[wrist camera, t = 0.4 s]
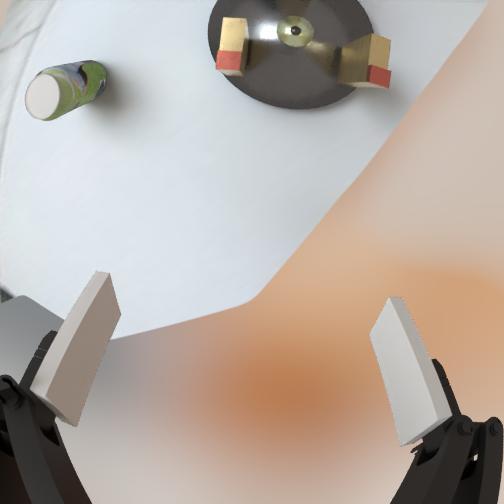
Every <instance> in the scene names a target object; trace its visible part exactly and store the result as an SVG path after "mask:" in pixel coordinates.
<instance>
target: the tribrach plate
mask: <svg viewBox="0 0 504 504" xmlns="http://www.w3.org/2000/svg"><path fill="white" fill-rule="evenodd" d="M223 17H225V18H246V19H247V26H248V33H249V45H248V53H247V61H246V70H245V77H234V76H227V75H225V74H224V73H223V74H224V76H225V77H226V78H227V79H228V80H229V81H230V82H231V83H232V84H233V85H234V86H235V87H237V88H238V89H239V90H241V91H242V92H243V93H245V94H247V95H248V96H250V97H252V98H254V99H256V100H258V101H261V102H263V103H266V104H269V105H273V106H277V107H282V108H289V109H309V108H317V107H321V106H325V105H328V104H331V103H333V102H336V101H338V100H340V99H342V98H344V97H345V96H347V95H348V94H349V93H351V92H352V91H353V90H354V89H356V88H357V87H349V86H346V85H341V84H337V80H338V73H339V65H340V58H341V50H342V46H344V45H346V44H348V43H350V42H352V41H355V40H357V39H359V38H362V37H364V36H366V35H369V34H371V33H373V29H372V25H371V23H370V20H369V18H368V16H367V14H366V12H365V10H364V9H363V7H362V6H361V4H360V3H359V2H358V1H357V0H218V1H217V3H216V4H215V6H214V8H213V10H212V13H211V15H210V19H209V24H208V42H209V47H210V50H211V54H212V56H213V58H214V61H215V63H216V61H217V52H218V50H219V48H220V40H221V32H222V24H223ZM373 34H374V33H373Z"/></svg>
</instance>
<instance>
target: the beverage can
mask: <svg viewBox="0 0 504 504" xmlns="http://www.w3.org/2000/svg"><path fill="white" fill-rule="evenodd" d="M105 84H106V72H105V70H104V68H103V66H102V65H101V64H100V63H98V62H96V61H93V60H88V61H81V62H75V63H69V64H64V65H59V66H54V67H49V68H46V69H44V70H42V71H41V72H40V73H38V74H37V75H36V77H35V78H34V79H33V80H32V81H31V82H30V84H29V85H28V87H27V90H26V94H25V105H26V109H27V111H28V113H29V114H30V115H31V116H32V117H34V118H36V119H40V120H44V121H50V120H54V119H56V118H58V117H60V116H62V115H64V114H66V113H68V112H70V111H72V110H74V109H76V108H78V107H80V106H82V105H84V104H86V103H88V102H91V101H93V100H95V99H96V98H97V97H98V96H99V95H100V94H101V93H102V91H103V90H104V87H105Z"/></svg>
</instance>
